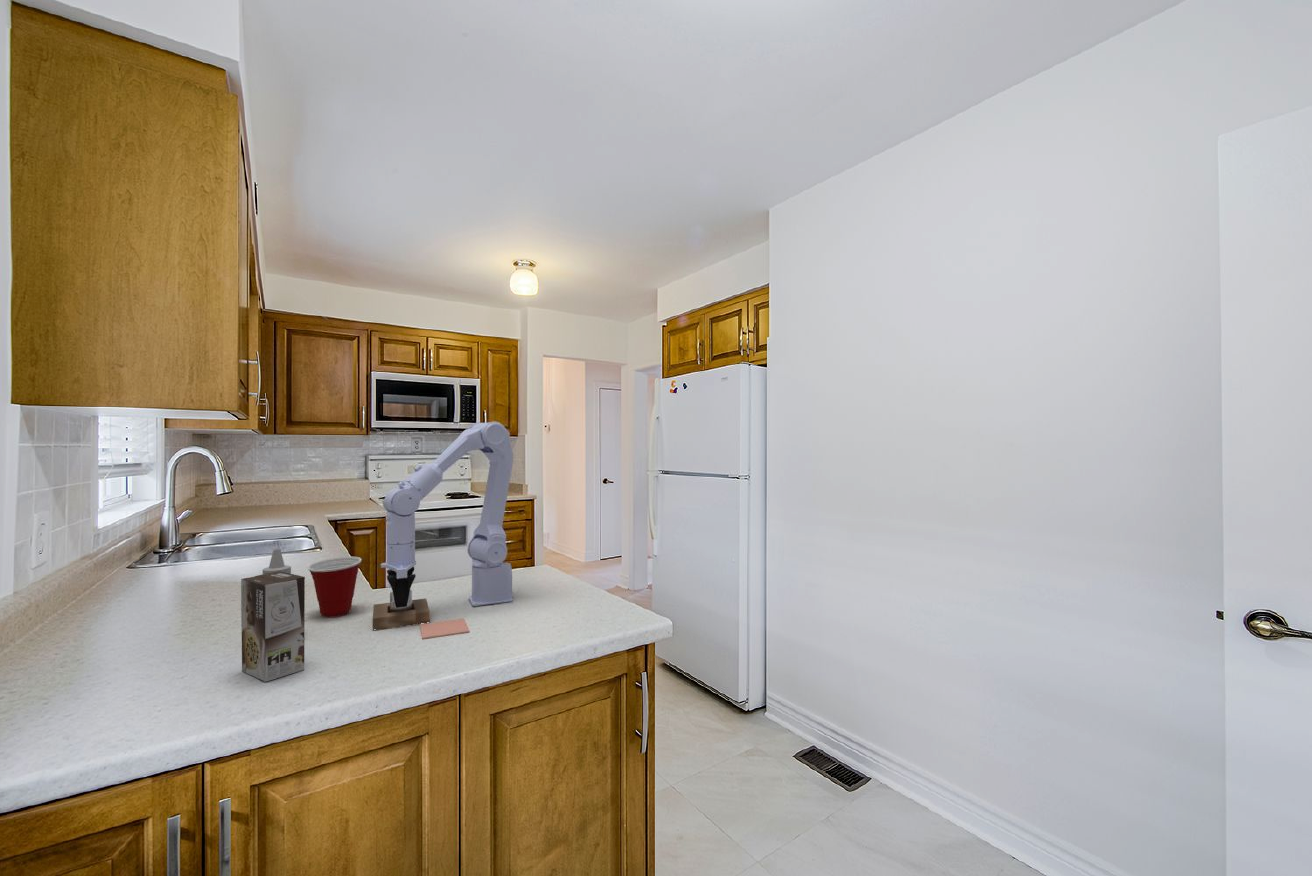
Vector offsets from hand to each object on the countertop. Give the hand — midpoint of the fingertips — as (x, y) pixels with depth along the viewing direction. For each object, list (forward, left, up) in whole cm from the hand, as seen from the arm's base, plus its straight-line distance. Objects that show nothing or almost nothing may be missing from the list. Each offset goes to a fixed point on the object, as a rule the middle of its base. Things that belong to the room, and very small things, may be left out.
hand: (401, 603), depth 122 cm
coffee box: (+20, +20, -4) cm, 29 cm away
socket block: (0, 0, -3) cm, 3 cm away
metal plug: (0, 0, -3) cm, 3 cm away
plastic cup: (+13, -11, -4) cm, 18 cm away
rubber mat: (-8, +11, -3) cm, 14 cm away
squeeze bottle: (+22, +3, -4) cm, 23 cm away
